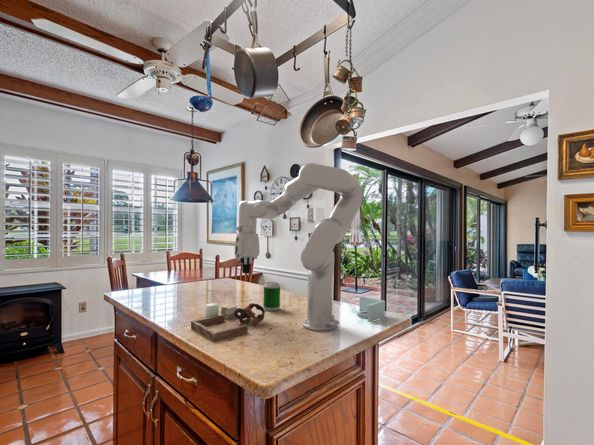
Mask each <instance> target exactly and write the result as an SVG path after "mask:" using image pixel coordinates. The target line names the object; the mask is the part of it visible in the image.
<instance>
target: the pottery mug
mask: <svg viewBox="0 0 594 445" xmlns="http://www.w3.org/2000/svg"><path fill="white" fill-rule="evenodd" d="M246 306H247V307H246ZM246 306H245V307H243V308H241V307H238V308H237V309H236V310H235V311H234V315H235V317H234V318H235V319H237V320H238V321H239V322H243V320H244V319H247V320H248V319H249V320H250V319H253V321H252V322H251V325H252V326H257V325H258V324H260V323H261V322H262V321H264V319H265V314H266V310H265V309H264V307H263V306H262V305H261V304H258V303H253V302H252V303H250V304H248V305H246ZM254 307H255V308H256V309H255V310H258V311H261V313H260V314H257V316H256V313H255V312H253V308H254ZM251 309H252V311H251Z"/></svg>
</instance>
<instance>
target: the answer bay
mask: <svg viewBox="0 0 594 445" xmlns="http://www.w3.org/2000/svg"><path fill="white" fill-rule="evenodd" d="M220 323H225V315H221V314H220V315H219V314H218V316H214V317H209V318H206V317H205V318H200V319H194V320H191V321H190V329H192V330H193V329H194V330H193V331H195V332H197V333H199V334H200V335H202V336H204V337H205V338H206V339H208V340H210V342H211V341H212V342H216V341H217V342H218V341H220V340H224V339H228V338H232V337H236V336H240V335H244V334H247V333H248V325H247V324H243V325H239V326H234V327H232V328H226V329H222V330H219V331H214V330H212V329H210V328H209V327H208V326H211V325H217V324H220Z"/></svg>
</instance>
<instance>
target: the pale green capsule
mask: <svg viewBox="0 0 594 445" xmlns="http://www.w3.org/2000/svg"><path fill="white" fill-rule="evenodd" d="M219 308H220V306H219V303H217V302H213V303H212V302H211V303H207V304H205V318H209V317H214V316H219V311H220V310H219Z"/></svg>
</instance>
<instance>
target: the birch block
mask: <svg viewBox="0 0 594 445" xmlns="http://www.w3.org/2000/svg"><path fill="white" fill-rule="evenodd" d="M237 307H238V306H237V305H234V304H226V305H222V306H220V315H225V319H226V320H232V319H233V318H236V317H235V315H234V311H235V310H236V309H237Z"/></svg>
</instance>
